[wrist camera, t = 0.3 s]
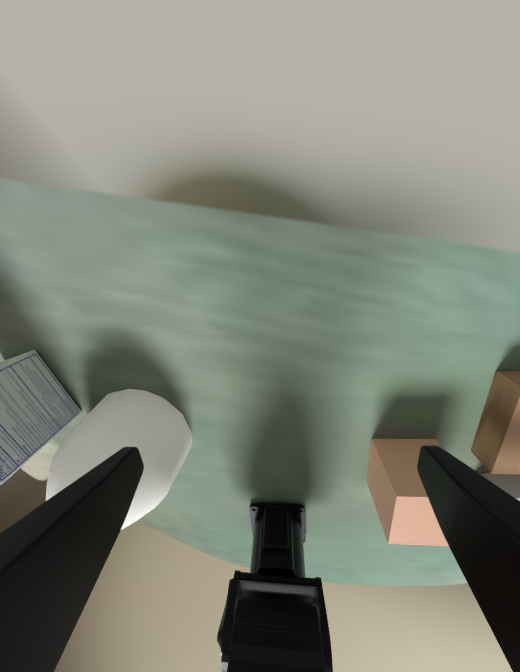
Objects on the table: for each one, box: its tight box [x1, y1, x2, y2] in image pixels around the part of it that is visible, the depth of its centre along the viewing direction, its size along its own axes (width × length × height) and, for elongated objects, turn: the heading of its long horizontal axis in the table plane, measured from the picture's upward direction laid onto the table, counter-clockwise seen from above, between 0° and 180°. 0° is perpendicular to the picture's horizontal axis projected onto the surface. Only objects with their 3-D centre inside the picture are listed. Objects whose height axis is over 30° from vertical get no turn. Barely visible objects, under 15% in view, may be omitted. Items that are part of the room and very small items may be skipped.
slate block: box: [481, 473, 520, 501], centre depth 25 cm, size 6×6×3 cm
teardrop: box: [46, 389, 192, 529], centre depth 22 cm, size 11×11×12 cm
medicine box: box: [0, 350, 81, 485], centre depth 22 cm, size 8×4×9 cm, turn 20°
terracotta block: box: [367, 439, 449, 546], centre depth 23 cm, size 6×6×6 cm
